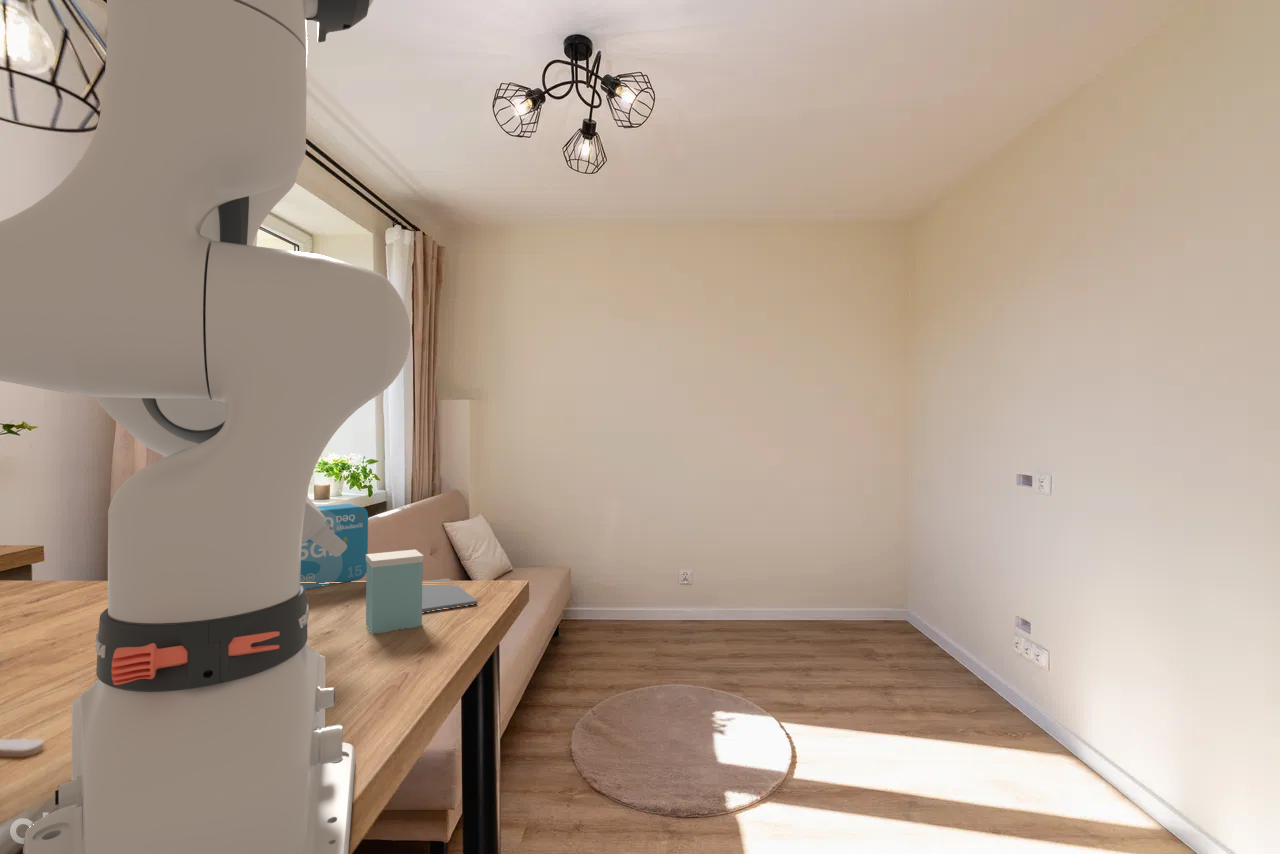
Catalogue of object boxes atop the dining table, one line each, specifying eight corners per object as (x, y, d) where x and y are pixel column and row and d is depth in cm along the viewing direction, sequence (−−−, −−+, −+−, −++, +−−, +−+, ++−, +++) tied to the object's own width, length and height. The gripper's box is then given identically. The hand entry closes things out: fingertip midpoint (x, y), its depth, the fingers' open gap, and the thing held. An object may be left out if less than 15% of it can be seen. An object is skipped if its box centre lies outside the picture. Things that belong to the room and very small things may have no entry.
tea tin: (422, 626, 80) (423, 555, 80) (371, 634, 77) (372, 561, 77) (414, 616, 84) (415, 549, 84) (364, 624, 80) (365, 554, 80)
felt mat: (477, 604, 89) (477, 600, 89) (388, 618, 83) (388, 613, 83) (448, 581, 101) (448, 578, 101) (368, 592, 94) (368, 588, 94)
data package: (288, 593, 93) (289, 513, 93) (277, 587, 96) (278, 509, 96) (367, 578, 102) (368, 505, 102) (355, 573, 105) (356, 502, 105)
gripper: (271, 453, 63) (372, 539, 69) (260, 440, 80) (342, 511, 86) (218, 499, 61) (327, 585, 67) (218, 476, 78) (305, 546, 84)
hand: (335, 543), depth 77 cm, fingers open, 8 cm apart
